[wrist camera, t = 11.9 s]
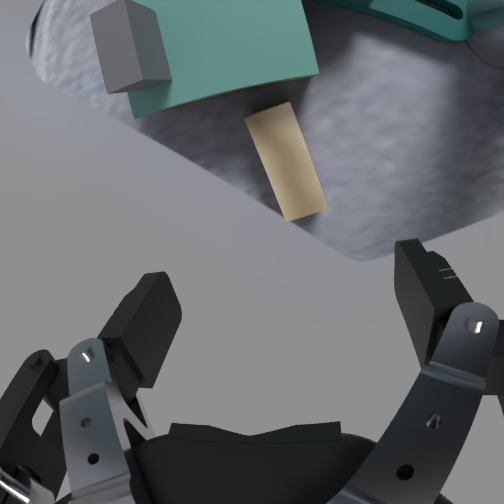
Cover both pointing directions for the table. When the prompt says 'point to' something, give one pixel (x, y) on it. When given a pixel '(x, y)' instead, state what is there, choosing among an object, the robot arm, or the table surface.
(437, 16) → the bracket
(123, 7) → the lid
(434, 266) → the robot arm
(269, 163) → the pale wooden block
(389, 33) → the table surface
